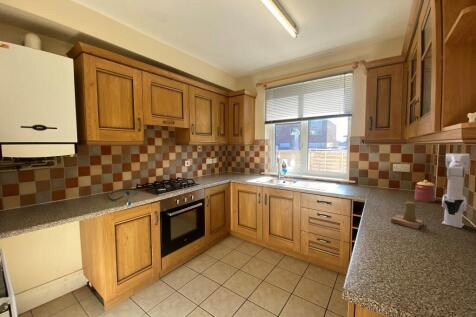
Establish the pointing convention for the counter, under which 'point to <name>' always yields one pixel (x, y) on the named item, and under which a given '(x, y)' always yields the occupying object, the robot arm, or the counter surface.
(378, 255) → the counter surface
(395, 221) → the tan flat block
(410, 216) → the olive rounded piece
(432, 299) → the counter surface
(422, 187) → the canister
